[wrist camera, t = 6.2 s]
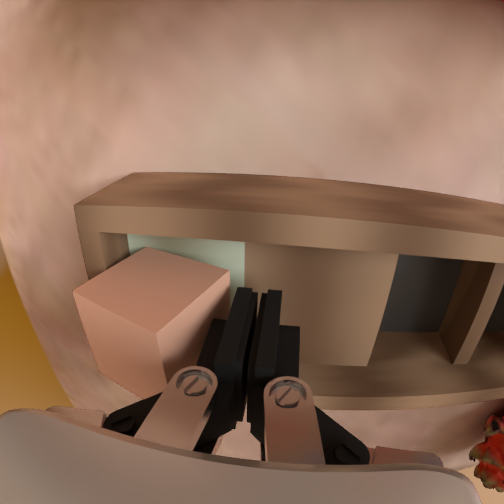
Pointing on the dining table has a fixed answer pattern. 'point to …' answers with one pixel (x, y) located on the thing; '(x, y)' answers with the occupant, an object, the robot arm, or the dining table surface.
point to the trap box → (335, 274)
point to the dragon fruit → (491, 454)
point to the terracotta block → (151, 316)
